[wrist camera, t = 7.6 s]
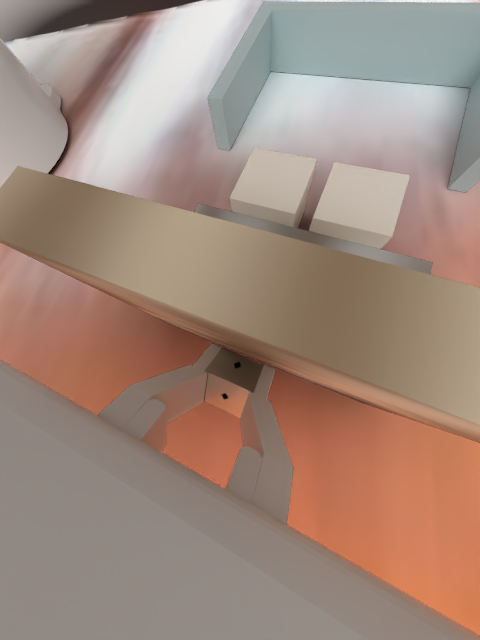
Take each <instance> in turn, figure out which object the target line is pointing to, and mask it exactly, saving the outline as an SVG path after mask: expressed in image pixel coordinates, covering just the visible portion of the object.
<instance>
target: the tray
mask: <svg viewBox="0 0 480 640" xmlns="http://www.w3.org/2000/svg"><path fill="white" fill-rule="evenodd" d="M270 71H273V72H285V73H297V74H309V75H321V76H333V77H346V78H358V79H370V80H382V81H394V82H406V83H418V84H430V85H442V86H454V87H467V88H470V92H469V97H468V101H467V105H466V110H465V114H464V119H463V123H462V128H461V132H460V136H459V141H458V145H457V150H456V154H455V158H454V163H453V167H452V172H451V176H450V180H449V185H448V189H451V190H456V191H462V192H467V191H469V190H470V189H471V188H472V187H473V186H474V185H475V184H476V183H478V182H479V181H480V3H417V2H263V3H262V5H261V7H260V8H259V10H258V12H257V13H256V15H255V17H254V19H253V20H252V22H251V24H250V25H249V27H248V29H247V31H246V32H245V34H244V36H243V37H242V39H241V41H240V43H239V44H238V46H237V48H236V49H235V51H234V53H233V55H232V56H231V58H230V60H229V61H228V63H227V65H226V67H225V68H224V70H223V72H222V73H221V75H220V77H219V79H218V80H217V82H216V84H215V85H214V87H213V89H212V91H211V92H210V94H209V96H208V97H207V98H208V102H209V107H210V112H211V117H212V121H213V126H214V131H215V136H216V141H217V145H218V148H220V149H225V150H230V149H231V147H232V145H233V143H234V141H235V139H236V137H237V135H238V134H239V132H240V130H241V128H242V126H243V124H244V122H245V120H246V118H247V116H248V114H249V112H250V110H251V108H252V106H253V104H254V102H255V101H256V99H257V97H258V95H259V93H260V91H261V89H262V87H263V85H264V83H265V81H266V79H267V77H268V75H269V73H270Z"/></svg>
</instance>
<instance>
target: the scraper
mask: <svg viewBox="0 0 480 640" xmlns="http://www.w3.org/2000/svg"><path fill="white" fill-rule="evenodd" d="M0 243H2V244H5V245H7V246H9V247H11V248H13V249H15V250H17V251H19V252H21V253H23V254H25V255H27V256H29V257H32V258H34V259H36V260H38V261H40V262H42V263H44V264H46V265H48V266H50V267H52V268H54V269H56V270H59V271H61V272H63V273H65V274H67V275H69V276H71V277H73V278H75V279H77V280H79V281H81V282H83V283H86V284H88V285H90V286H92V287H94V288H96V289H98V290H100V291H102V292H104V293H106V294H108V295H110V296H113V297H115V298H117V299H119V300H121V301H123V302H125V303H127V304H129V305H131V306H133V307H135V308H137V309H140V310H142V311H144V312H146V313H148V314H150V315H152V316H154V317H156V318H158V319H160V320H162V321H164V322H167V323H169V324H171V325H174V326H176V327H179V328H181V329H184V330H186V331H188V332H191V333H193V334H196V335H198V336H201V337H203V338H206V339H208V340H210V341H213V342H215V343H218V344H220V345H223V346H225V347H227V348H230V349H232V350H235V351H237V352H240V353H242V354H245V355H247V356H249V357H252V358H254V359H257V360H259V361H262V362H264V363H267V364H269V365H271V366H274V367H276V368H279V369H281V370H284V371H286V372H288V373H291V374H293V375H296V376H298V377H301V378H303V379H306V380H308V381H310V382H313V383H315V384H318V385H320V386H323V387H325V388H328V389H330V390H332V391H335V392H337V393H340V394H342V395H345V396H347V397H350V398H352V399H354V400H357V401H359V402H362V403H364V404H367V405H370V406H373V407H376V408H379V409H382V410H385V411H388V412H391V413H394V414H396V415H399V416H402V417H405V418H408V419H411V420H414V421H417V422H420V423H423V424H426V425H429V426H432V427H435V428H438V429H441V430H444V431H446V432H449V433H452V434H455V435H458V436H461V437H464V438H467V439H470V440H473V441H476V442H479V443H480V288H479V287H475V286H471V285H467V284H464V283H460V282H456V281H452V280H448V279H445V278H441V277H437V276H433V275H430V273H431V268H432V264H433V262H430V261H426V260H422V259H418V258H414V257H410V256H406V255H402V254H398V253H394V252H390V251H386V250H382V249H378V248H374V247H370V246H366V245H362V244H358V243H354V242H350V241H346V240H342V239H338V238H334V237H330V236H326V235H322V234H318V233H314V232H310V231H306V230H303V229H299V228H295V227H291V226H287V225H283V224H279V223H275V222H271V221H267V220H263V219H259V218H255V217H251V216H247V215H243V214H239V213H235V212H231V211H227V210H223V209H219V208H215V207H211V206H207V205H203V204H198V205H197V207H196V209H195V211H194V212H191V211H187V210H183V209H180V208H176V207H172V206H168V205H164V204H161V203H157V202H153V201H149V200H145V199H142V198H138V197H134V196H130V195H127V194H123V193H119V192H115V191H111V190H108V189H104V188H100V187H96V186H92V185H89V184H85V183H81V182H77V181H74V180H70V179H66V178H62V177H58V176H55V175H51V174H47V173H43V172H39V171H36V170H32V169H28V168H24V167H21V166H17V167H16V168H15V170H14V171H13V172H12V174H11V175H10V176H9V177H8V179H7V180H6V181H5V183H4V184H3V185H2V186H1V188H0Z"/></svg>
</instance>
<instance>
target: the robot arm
mask: <svg viewBox="0 0 480 640" xmlns="http://www.w3.org/2000/svg"><path fill="white" fill-rule="evenodd" d="M60 106H61V97H60V95H59V94H58V93H57V92H56V91H55V90H54V88H53V87H52V86H51V85H49V84H39V83H38V82H37V81H36V79H35V78H34V77H33V76H32V75H31V74H30V72H29V71H28V70H27V69H26V68H25V67H24V65H23V64H22V63H21V62H20V61H19V60H18V58H17V57H16V56H15V55H14V54H13V53H12V51H11V50H10V49H9V48H8V47H7V46H6V44H5V43H4V42H3V41H2V40H1V39H0V188H1V186H2V185H3V184H4V183H5V181H6V180H7V179H8V177H9V176H10V175H11V174H12V172H13V171H14V170H15V168H16V167H17V166H21V167H24V168H28V169H32V170H36V171H39V172H43V173H48V172H49V171H50V170H51V169H52V168H53V166H54V165H55V164H56V162H57V161H58V159H59V158H60V156H61V154H62V152H63V150H64V148H65V145H66V142H67V137H68V126H67V123H66V120H65V118H64V117H63V115H62V114H61V111H60ZM263 366H264V367H263ZM275 371H276V370H275V368H273V367H270V366H267V365H265V364H262V363H260V362H257V361H255V360H252V359H250V358H247V357H245V356H242V355H240V354H238V353H235V352H233V351H231V350H229V349H226V348H224V347H221V346H219V345H217V344H214V343H212V344H211V345H210V346H209V347H208V348H207V349H206V350H205V352H204V353H203V354H202V355H201V356H200V358H199V359H198V360H197V361H196V362H195V363H194V365H193V366H192V365H187V366H184V367H181V368H178V369H175V370H172V371H169V372H166V373H163V374H161V375H158V376H155V377H152V378H149V379H146V380H143V381H140V382H137V383H134V384H132V385H130V386H129V387H128V388H127V389H126V390H125V391H123V392H122V393H121V394H120V395H119V396H118V397H117V398H116V399H115V400H113V401H112V402H111V403H110V404H109V405H108V406H107V407H106V408H105V409H103V410H102V411H101V412H100V413H99V414H98V415H96V414H94V413H92V412H91V411H89V410H87V409H86V408H84V407H82V406H80V405H79V404H77V403H75V402H73V401H72V400H70V399H68V398H66V397H65V396H63V395H61V394H59V393H58V392H56V391H54V390H53V389H51V388H49V387H47V386H46V385H44V384H42V383H40V382H39V381H37V380H35V379H33V378H32V377H30V376H28V375H26V374H25V373H23V372H21V371H19V370H18V369H16V368H14V367H13V366H11V365H9V364H7V363H6V362H4V361H2V360H0V640H480V635H478V634H476V633H475V632H473V631H471V630H469V629H468V628H466V627H464V626H462V625H461V624H459V623H457V622H455V621H454V620H452V619H450V618H448V617H447V616H445V615H443V614H442V613H440V612H438V611H436V610H435V609H433V608H431V607H429V606H428V605H426V604H424V603H422V602H421V601H419V600H417V599H415V598H414V597H412V596H410V595H409V594H407V593H405V592H403V591H402V590H400V589H398V588H396V587H395V586H393V585H391V584H389V583H388V582H386V581H384V580H382V579H381V578H379V577H377V576H376V575H374V574H372V573H370V572H369V571H367V570H365V569H363V568H362V567H360V566H358V565H356V564H355V563H353V562H351V561H350V560H348V559H346V558H344V557H343V556H341V555H339V554H337V553H336V552H334V551H332V550H330V549H329V548H327V547H325V546H323V545H322V544H320V543H318V542H317V541H315V540H313V539H311V538H310V537H308V536H306V535H304V534H303V533H301V532H299V531H297V530H296V529H294V528H292V527H290V526H289V525H287V519H288V510H289V502H290V494H291V485H292V477H293V465H292V462H291V460H290V457H289V454H288V451H287V448H286V445H285V442H284V439H283V436H282V433H281V430H280V427H279V425H278V422H277V419H276V416H275V413H274V410H273V407H272V404H271V401H269V400H267V398H268V394H269V391H270V388H271V384H272V381H273V378H274V374H275ZM203 401H204V402H206V403H209V404H211V405H213V406H215V407H218V408H220V409H222V410H224V411H226V412H228V413H230V414H232V415H233V416H235V417H237V418H239V419H240V427H241V434H242V442H243V447H241V449H240V452H239V454H238V457H237V459H236V461H235V464H234V466H233V469H232V471H231V474H230V476H229V478H228V481H227V484H226V487H225V489H224V488H223V487H221V486H219V485H218V484H216V483H214V482H212V481H211V480H209V479H207V478H205V477H204V476H202V475H200V474H198V473H197V472H195V471H193V470H191V469H190V468H188V467H186V466H185V465H183V464H181V463H179V462H178V461H176V460H174V459H172V458H171V457H169V456H167V455H165V454H164V453H162V450H163V449H164V447H165V445H166V444H167V426H166V425H167V424H168V423H170V422H172V421H173V420H175V419H177V418H178V417H180V416H182V415H183V414H185V413H187V412H188V411H190V410H192V409H193V408H195V407H197V406H198V405H200V404H202V403H203Z"/></svg>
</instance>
